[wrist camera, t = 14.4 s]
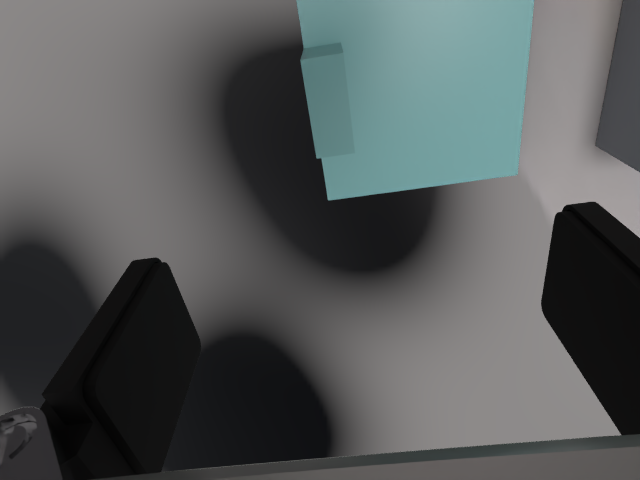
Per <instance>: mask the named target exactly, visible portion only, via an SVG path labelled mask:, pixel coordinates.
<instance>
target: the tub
mask: <svg viewBox="0 0 640 480" xmlns="http://www.w3.org/2000/svg"><path fill="white" fill-rule="evenodd" d="M595 146H597V147H599V148H600V149H602V150H604V151H605V152H607V153H609V154H610V155H612V156H614V157H615V158H617V159H619V160H620V161H622V162H624V163H625V164H627V165H629V166H630V167H632V168H634V169H635V170H637V171H639V172H640V0H623V4H622V9H621V15H620V20H619V25H618V30H617V35H616V41H615V46H614V51H613V56H612V61H611V67H610V72H609V77H608V82H607V88H606V93H605V98H604V103H603V108H602V114H601V119H600V124H599V129H598V134H597V140H596V145H595Z"/></svg>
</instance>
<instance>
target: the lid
mask: <svg viewBox="0 0 640 480" xmlns="http://www.w3.org/2000/svg"><path fill="white" fill-rule="evenodd" d="M296 2H297V8H298V15H299V21H300V27H301V33H302V40H303V46H304V50H303V53H302V56H301V59H300V62H301V67H302V74H303V80H304V86H305V92H306V98H307V104H308V110H309V115H310V122H311V128H312V134H313V139H314V146H315V152H316V158H317V159H318V158H321V159H322V165H323V171H324V177H325V184H326V190H327V196H328V200H335V199H343V198H350V197H358V196H365V195H373V194H380V193H387V192H395V191H402V190H410V189H417V188H425V187H432V186H439V185H447V184H453V183H462V182H469V181H477V180H483V179H491V178H499V177H506V176H514V175H518V164H519V154H520V143H521V133H522V122H523V112H524V102H525V91H526V81H527V70H528V60H529V49H530V39H531V28H532V18H533V7H534V0H296Z"/></svg>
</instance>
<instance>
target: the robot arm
mask: <svg viewBox="0 0 640 480" xmlns="http://www.w3.org/2000/svg"><path fill="white" fill-rule="evenodd" d="M541 306H542V311H543V314H544V316H545V318H546V319H547V321H548V323H549V324H550V326H551V327H552V329H553V330H554V332H555V333H556V335H557V336H558V338H559V339H560V341H561V343H562V344H563V345H564V347H565V349H566V350H567V352H568V353H569V355H570V356H571V358H572V359H573V361H574V363H575V364H576V365H577V367H578V368H579V370H580V372H581V373H582V375H583V376H584V378H585V379H586V381H587V382H588V384H589V385H590V387H591V389H592V390H593V392H594V393H595V395H596V396H597V398H598V399H599V401H600V402H601V404H602V406H603V407H604V409H605V410H606V412H607V413H608V415H609V416H610V418H611V419H612V421H613V422H614V424H615V426H616V427H617V429H618V430H619V432H620V433H621V435H620V436H603V437H591V438H590V437H589V438H576V439H563V440H551V441H550V440H549V441H536V442H523V443H509V444H496V445H483V446H470V447H457V448H445V449H432V450H419V451H406V452H394V453H381V454H370V455H358V456H346V457H334V458H320V459H308V460H297V461H284V462H272V463H262V464H249V465H238V466H227V467H215V468H203V469H192V470H180V471H169V472H161V470H162V467H163V464H164V461H165V458H166V455H167V452H168V449H169V446H170V443H171V440H172V437H173V434H174V431H175V428H176V425H177V422H178V419H179V416H180V413H181V410H182V407H183V404H184V400H185V398H186V395H187V391H188V389H189V386H190V382H191V380H192V376H193V373H194V370H195V367H196V364H197V361H198V358H199V355H200V351H201V343H200V339H199V336H198V334H197V331H196V329H195V326H194V324H193V322H192V319H191V317H190V315H189V312H188V310H187V307H186V305H185V303H184V300H183V298H182V296H181V293H180V291H179V288H178V286H177V284H176V282H175V279H174V277H173V274H172V272H171V269H170V267H169V265H168V264H167V263H165V262H163V263H162V262H161V260H160V259H158V258H148V259H141V260H135V261H132V262H131V263H130V265H129V266H128V268H127V269H126V271H125V272H124V274H123V275H122V277H121V278H120V280H119V281H118V283H117V284H116V285H115V287H114V288H113V290H112V291H111V293H110V294H109V296H108V297H107V299H106V300H105V302H104V303H103V305H102V306H101V308H100V309H99V311H98V312H97V314H96V315H95V317H94V318H93V319H92V321H91V322H90V324H89V326H88V327H87V328H86V330H85V331H84V333H83V334H82V336H81V337H80V339H79V340H78V342H77V343H76V345H75V346H74V348H73V349H72V350H71V352H70V353H69V355H68V356H67V358H66V359H65V361H64V362H63V364H62V366H61V367H60V368H59V370H58V371H57V373H56V374H55V375H54V377H53V378H52V380H51V381H50V383H49V384H48V386H47V387H46V389H45V390H44V392H43V393H42V395H43V397H44V398H45V399H46V400H45V402H44V403H43V405H42V407H41V408H40V409H38V408H35V407H22V408H19V409H16V410H12V411H10V412H7V413H5V414H3V415H1V416H0V480H640V238H639V237H638V236H636V235H635V234H634V233H633V232H632V231H630V230H629V229H628V228H627V227H626V226H624V225H623V224H622V223H621V222H620V221H618V220H617V219H616V218H615V217H613V216H612V215H611V214H610V213H609V212H607V211H606V210H605V209H604V208H603V207H601V206H600V205H599V204H598V203H596V202H586V203H578V204H571V205H566V206H565V207H564V208H563V210H562V212H558V213H557V214H556V215H555V219H554V224H553V231H552V238H551V243H550V250H549V256H548V263H547V269H546V276H545V282H544V288H543V294H542V300H541Z"/></svg>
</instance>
